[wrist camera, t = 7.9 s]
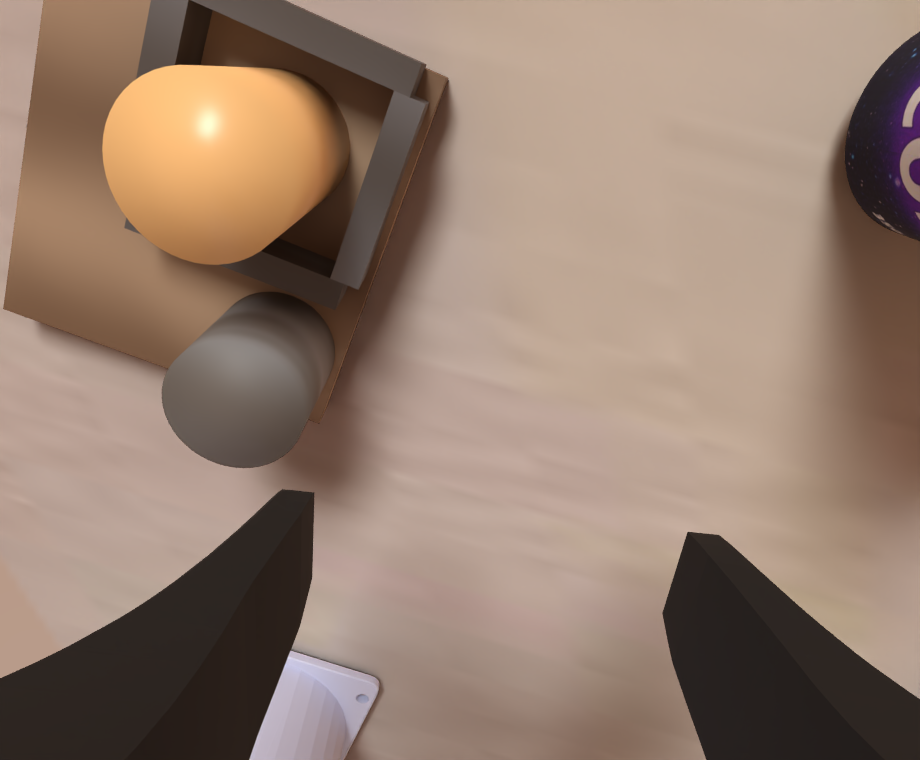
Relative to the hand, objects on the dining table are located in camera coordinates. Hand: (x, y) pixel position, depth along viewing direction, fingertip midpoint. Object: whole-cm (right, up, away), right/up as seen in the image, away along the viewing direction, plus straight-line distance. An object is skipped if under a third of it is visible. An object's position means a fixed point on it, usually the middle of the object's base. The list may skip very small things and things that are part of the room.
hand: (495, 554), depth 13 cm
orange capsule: (-5, +10, +5) cm, 12 cm away
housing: (-8, +9, +7) cm, 14 cm away
